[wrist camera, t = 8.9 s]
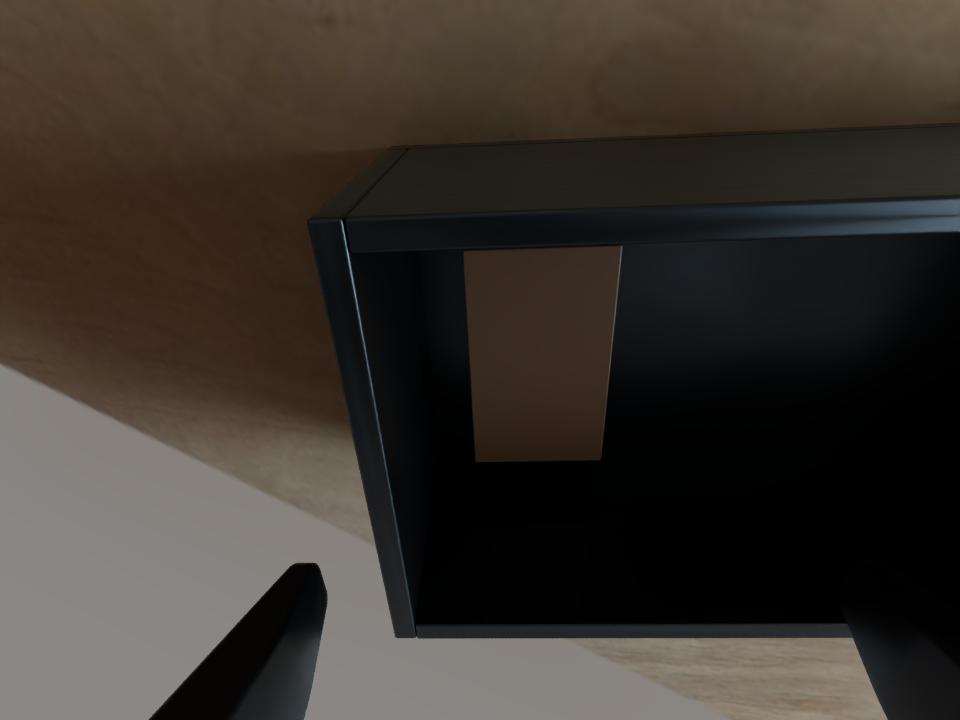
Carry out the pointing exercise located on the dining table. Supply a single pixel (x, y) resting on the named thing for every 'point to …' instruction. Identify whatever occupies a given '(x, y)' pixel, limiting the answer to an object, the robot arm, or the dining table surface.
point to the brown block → (540, 349)
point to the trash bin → (664, 380)
